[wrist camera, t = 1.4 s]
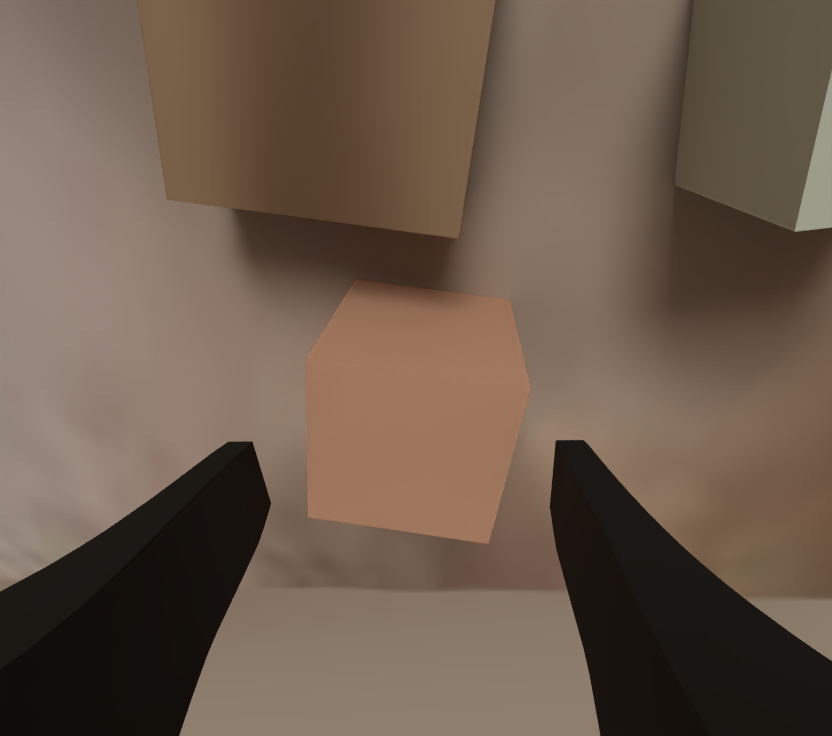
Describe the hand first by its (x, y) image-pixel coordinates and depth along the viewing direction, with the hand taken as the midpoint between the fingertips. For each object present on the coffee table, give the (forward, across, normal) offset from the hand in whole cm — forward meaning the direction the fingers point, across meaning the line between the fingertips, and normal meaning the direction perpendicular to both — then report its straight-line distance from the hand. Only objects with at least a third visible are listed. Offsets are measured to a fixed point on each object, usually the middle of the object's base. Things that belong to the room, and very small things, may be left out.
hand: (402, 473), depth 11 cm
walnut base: (+6, +1, -9) cm, 11 cm away
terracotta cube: (+6, 0, 0) cm, 6 cm away
